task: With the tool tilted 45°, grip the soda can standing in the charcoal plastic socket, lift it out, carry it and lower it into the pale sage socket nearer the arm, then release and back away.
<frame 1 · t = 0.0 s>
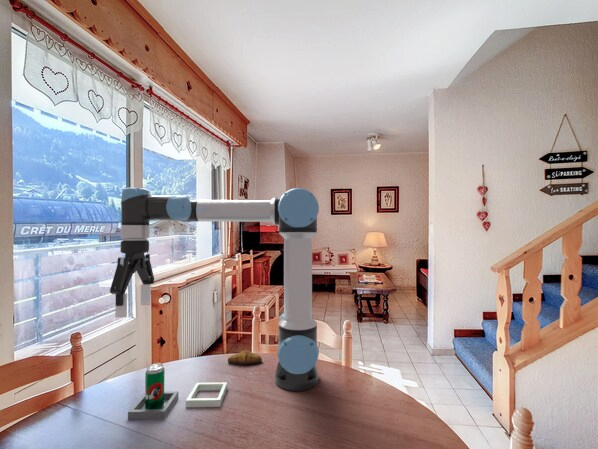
hand: (134, 310, 87), 28 cm above the table, tool pointing down, fingers open, 13 cm apart
socket upper: (154, 408, 85), on the table
croissant: (244, 363, 115), on the table
soda can: (154, 408, 85), resting in socket upper
socket lower: (207, 397, 91), on the table
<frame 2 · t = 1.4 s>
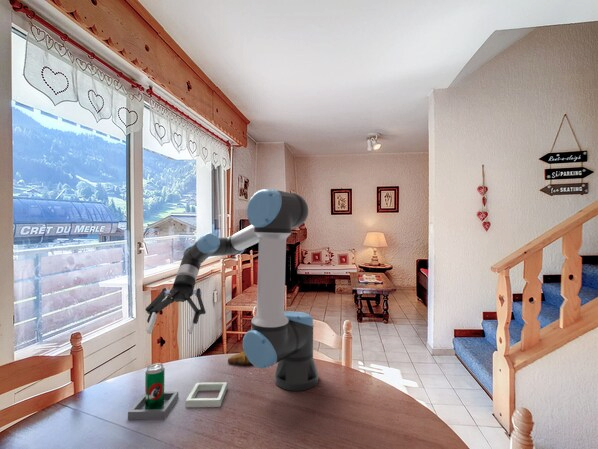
hand: (169, 332, 97), 18 cm above the table, tool tilted 45°, fingers open, 13 cm apart
nothing on the table moved.
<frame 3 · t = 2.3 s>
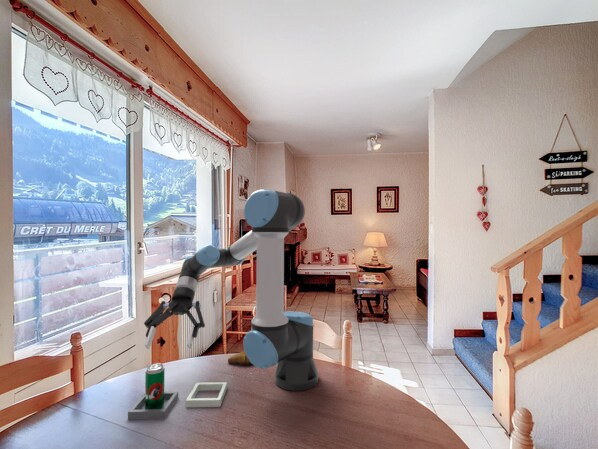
hand: (167, 347, 95), 14 cm above the table, tool tilted 45°, fingers open, 13 cm apart
nothing on the table moved.
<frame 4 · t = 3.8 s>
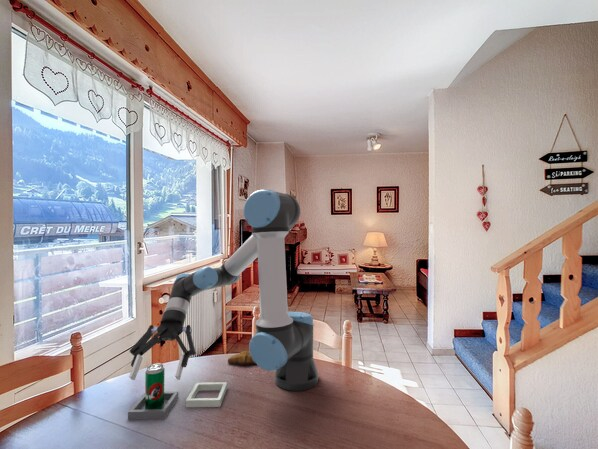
hand: (154, 378, 88), 7 cm above the table, tool tilted 45°, fingers open, 13 cm apart
nothing on the table moved.
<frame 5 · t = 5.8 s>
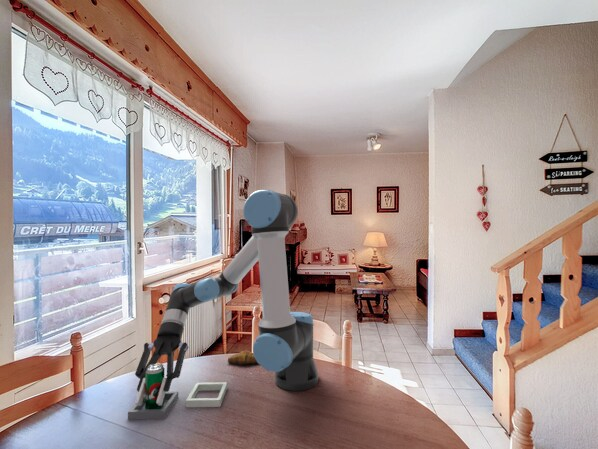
hand: (148, 404, 82), 3 cm above the table, tool tilted 45°, fingers closed on soda can, 5 cm apart
soda can: (154, 408, 85), resting in socket upper, touching gripper
everything else where it was.
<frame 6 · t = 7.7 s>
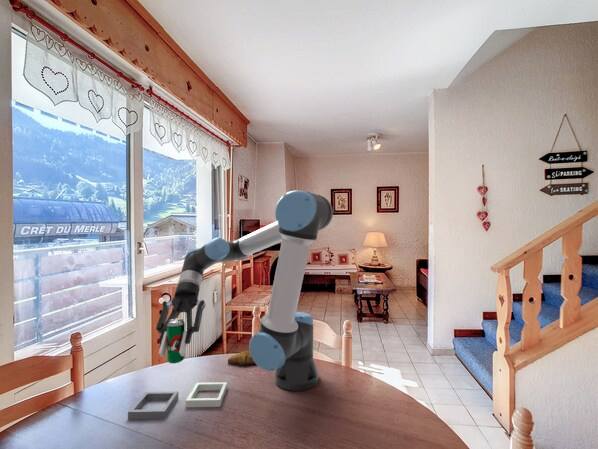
hand: (171, 354, 84), 16 cm above the table, tool tilted 45°, fingers closed on soda can, 5 cm apart
soda can: (176, 361, 88), point 13 cm above the table, touching gripper
everything else where it was.
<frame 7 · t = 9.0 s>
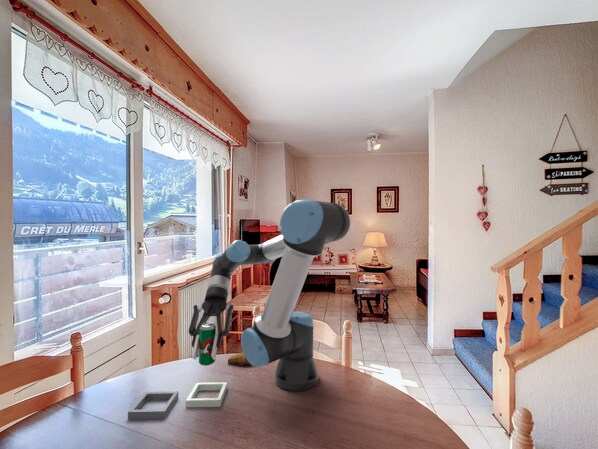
hand: (203, 357, 88), 14 cm above the table, tool tilted 45°, fingers closed on soda can, 5 cm apart
soda can: (207, 363, 91), point 10 cm above the table, touching gripper
everything else where it was.
when the fingers open (5 cm above the table, at t = 10.8 s): soda can drops 1 cm, resting in socket lower.
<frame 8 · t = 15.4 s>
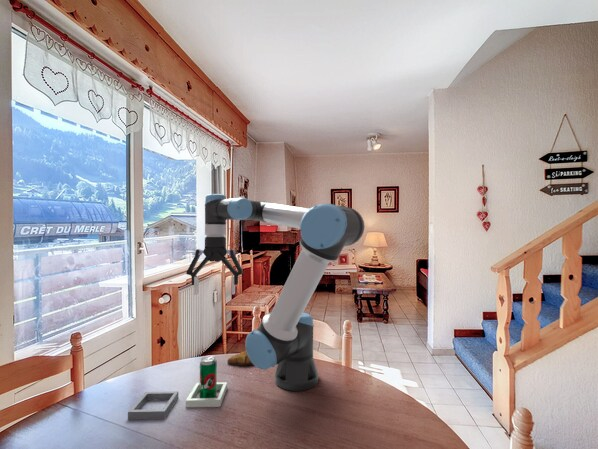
hand: (214, 293, 107), 29 cm above the table, tool pointing down, fingers open, 13 cm apart
soda can: (207, 397, 91), resting in socket lower
everything else where it was.
at the end: soda can inside the target area on the socket lower (0.1 cm from its centre), point 0.0 cm above the socket lower's base; soda can tilted 0°; the gripper is holding nothing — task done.
